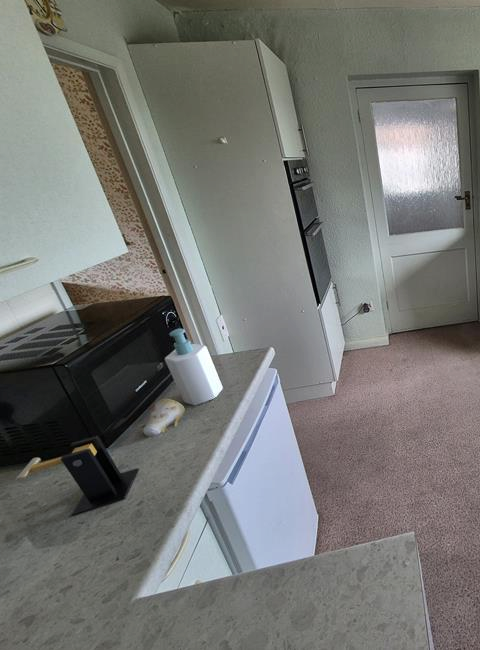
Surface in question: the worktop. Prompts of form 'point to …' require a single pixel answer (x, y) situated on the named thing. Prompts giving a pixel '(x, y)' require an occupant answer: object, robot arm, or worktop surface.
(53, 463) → the tap lever
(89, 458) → the bracket
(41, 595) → the worktop surface
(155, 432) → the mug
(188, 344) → the soap bottle
